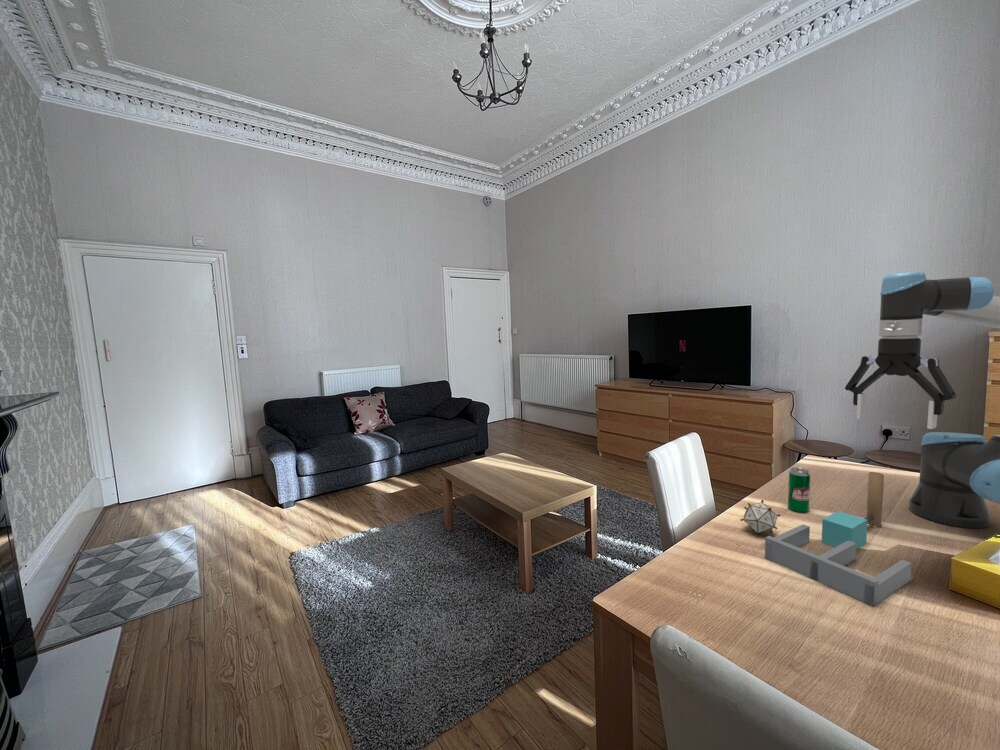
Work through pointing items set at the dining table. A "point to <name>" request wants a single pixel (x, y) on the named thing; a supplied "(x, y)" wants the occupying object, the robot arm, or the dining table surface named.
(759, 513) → the game die
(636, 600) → the dining table surface
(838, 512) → the teal block-headed stick
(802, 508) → the soda can
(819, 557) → the lane rack
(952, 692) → the dining table surface
